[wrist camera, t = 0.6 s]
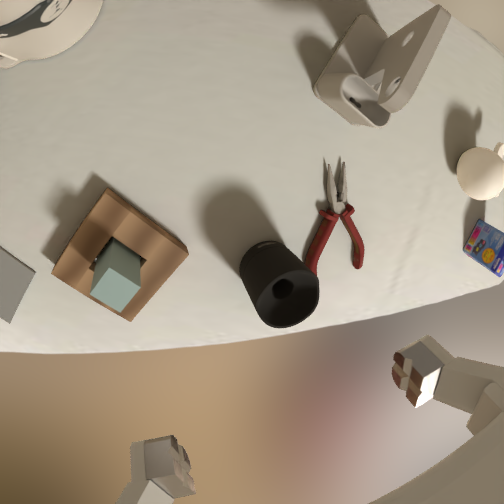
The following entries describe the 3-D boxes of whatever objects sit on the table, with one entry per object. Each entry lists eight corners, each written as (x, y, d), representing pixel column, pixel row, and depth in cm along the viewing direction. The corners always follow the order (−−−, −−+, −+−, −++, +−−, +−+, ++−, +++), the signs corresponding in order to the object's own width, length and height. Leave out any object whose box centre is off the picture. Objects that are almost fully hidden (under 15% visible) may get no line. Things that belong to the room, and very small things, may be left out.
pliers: (361, 157, 48) (371, 160, 46) (357, 263, 58) (365, 270, 56) (298, 166, 45) (307, 170, 43) (303, 279, 55) (309, 288, 53)
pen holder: (302, 249, 52) (334, 281, 43) (273, 296, 54) (297, 333, 46) (255, 228, 47) (282, 260, 39) (225, 280, 50) (244, 320, 41)
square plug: (97, 258, 41) (89, 294, 34) (114, 234, 41) (109, 267, 33) (122, 274, 44) (120, 312, 36) (139, 252, 43) (140, 287, 35)
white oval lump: (438, 182, 57) (470, 174, 62) (477, 217, 50) (505, 204, 54) (456, 131, 49) (487, 130, 53) (501, 164, 41) (525, 159, 45)
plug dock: (54, 264, 39) (51, 273, 37) (107, 187, 37) (105, 192, 35) (130, 311, 47) (130, 321, 45) (186, 246, 45) (189, 254, 43)
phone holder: (355, 130, 45) (444, 157, 30) (307, 93, 40) (396, 101, 25) (400, 51, 40) (489, 54, 25) (359, 10, 35) (449, -5, 20)
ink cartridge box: (478, 217, 66) (520, 242, 53) (484, 224, 68) (524, 248, 56) (461, 250, 68) (502, 278, 56) (468, 256, 71) (507, 283, 59)
